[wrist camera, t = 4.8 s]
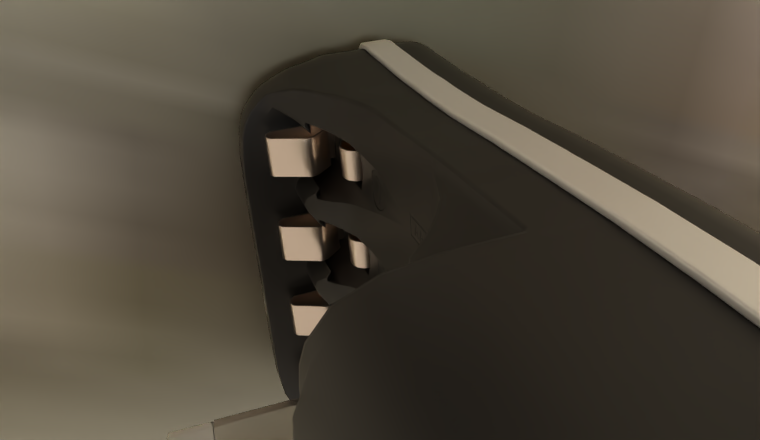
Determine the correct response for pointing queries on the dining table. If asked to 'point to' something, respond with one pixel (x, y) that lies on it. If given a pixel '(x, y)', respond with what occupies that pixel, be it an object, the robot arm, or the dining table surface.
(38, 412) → the dining table surface
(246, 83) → the dining table surface
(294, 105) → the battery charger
